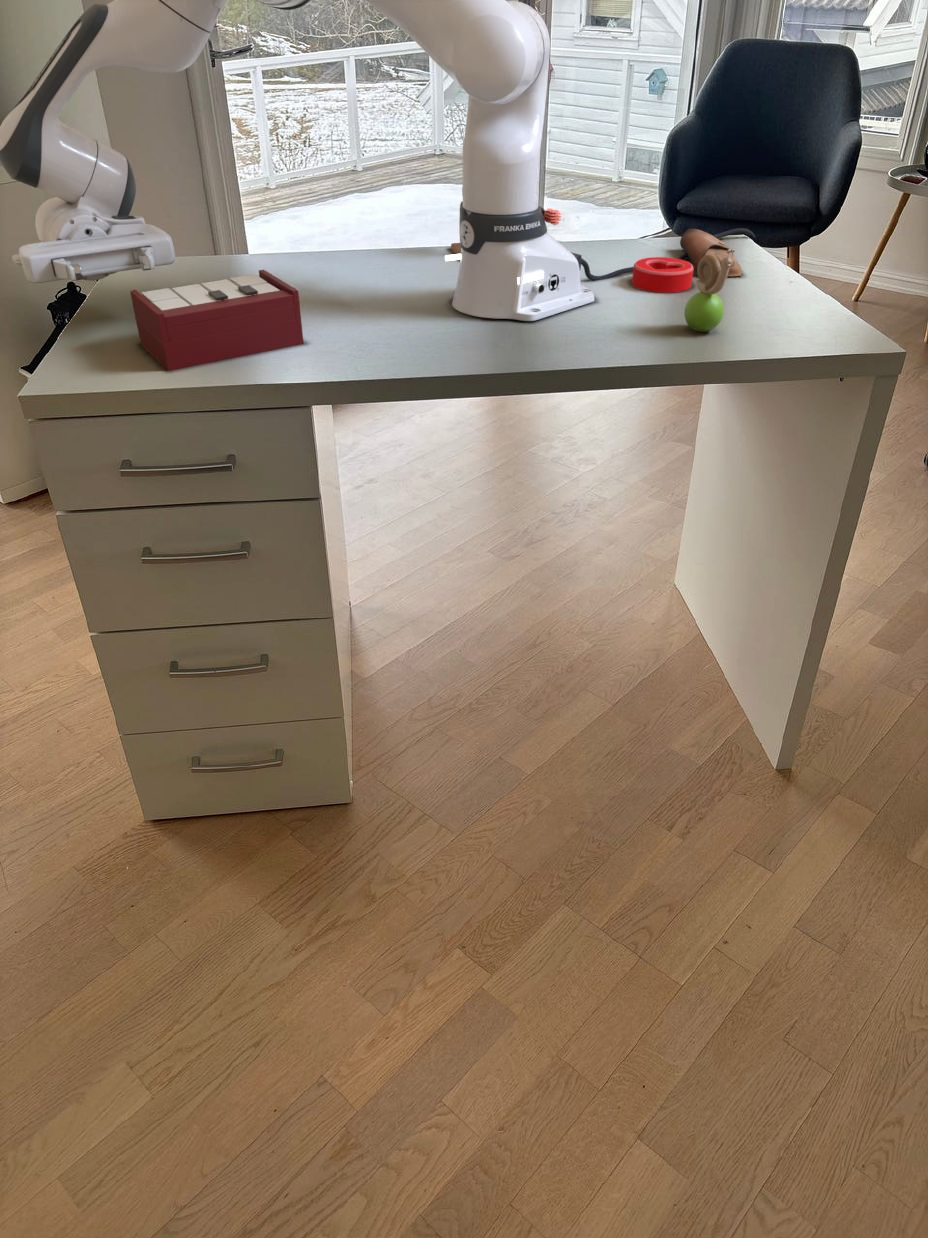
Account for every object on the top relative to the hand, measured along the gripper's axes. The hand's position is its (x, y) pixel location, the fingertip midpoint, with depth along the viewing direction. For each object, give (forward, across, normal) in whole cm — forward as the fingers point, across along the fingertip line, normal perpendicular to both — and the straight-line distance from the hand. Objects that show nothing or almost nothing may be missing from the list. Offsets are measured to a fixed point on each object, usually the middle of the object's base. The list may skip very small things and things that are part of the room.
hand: (113, 268), depth 123 cm
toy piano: (+7, +11, +10) cm, 16 cm away
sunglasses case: (+13, +98, +10) cm, 100 cm away
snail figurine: (+39, +71, +10) cm, 82 cm away
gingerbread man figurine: (-15, +65, +10) cm, 68 cm away
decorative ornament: (+18, +82, +10) cm, 85 cm away
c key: (+3, +17, +5) cm, 18 cm away
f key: (+3, +5, +5) cm, 7 cm away
